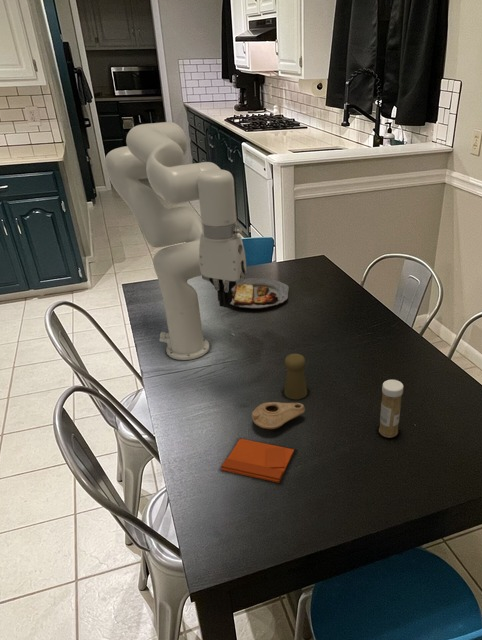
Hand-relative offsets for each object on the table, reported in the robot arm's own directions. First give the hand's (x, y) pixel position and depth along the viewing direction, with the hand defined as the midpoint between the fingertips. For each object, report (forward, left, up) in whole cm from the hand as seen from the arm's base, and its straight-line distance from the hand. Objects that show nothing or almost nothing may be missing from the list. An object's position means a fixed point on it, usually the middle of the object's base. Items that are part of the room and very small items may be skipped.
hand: (225, 304), depth 120 cm
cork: (+17, +2, -24) cm, 29 cm away
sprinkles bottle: (+42, -7, -24) cm, 49 cm away
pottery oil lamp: (+17, -11, -24) cm, 32 cm away
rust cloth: (+17, -25, -24) cm, 38 cm away
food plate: (-15, +54, -24) cm, 61 cm away
